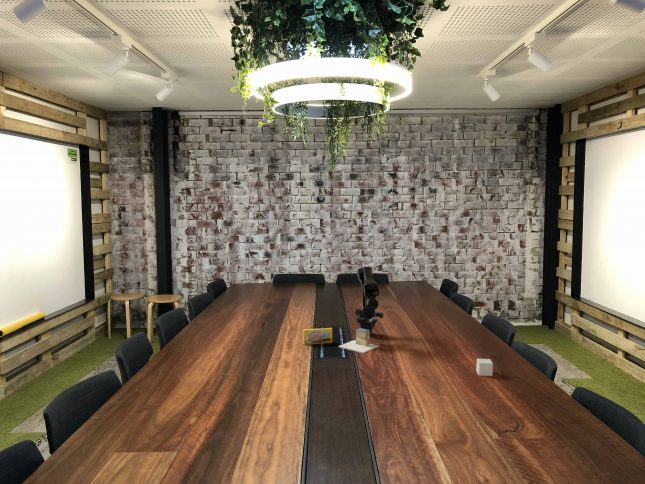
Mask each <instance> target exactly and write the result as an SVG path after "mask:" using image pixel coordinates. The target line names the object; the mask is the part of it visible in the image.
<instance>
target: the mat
mask: <svg viewBox="0 0 645 484" xmlns="http://www.w3.org/2000/svg"><path fill="white" fill-rule="evenodd" d="M378 347H379V345H376V344H372V343H369V345H367V346H362V345H358V344H356V339H354V340H351V341H347V342H346V343H343V344H340V345H338V348H340V349H344V350H349V351H352V352H356V353H359V354H365V353H367V352H370V351H372V350H374V349H376V348H378Z"/></svg>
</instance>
